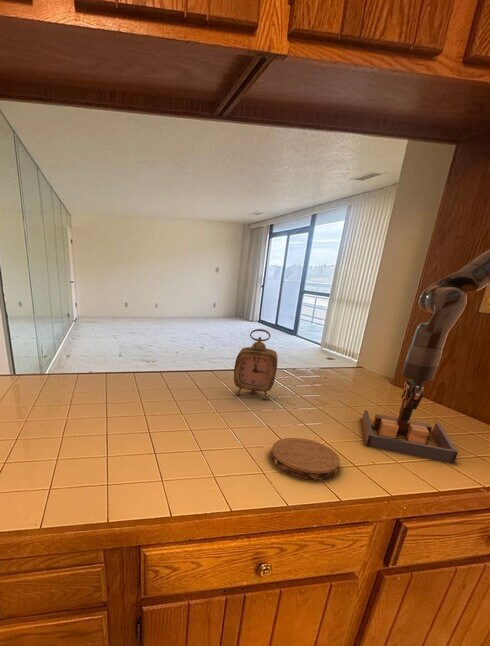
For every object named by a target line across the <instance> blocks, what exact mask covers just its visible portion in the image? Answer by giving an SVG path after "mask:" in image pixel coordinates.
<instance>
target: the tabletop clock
mask: <svg viewBox="0 0 490 646" xmlns="http://www.w3.org/2000/svg"><path fill="white" fill-rule="evenodd" d="M255 332H264V333H266V334H267V335H268V337H267V338H264V339H263V338H262V337H261V336H258V337H257V338H254V337H253V335H252V334H253V333H255ZM249 337H250V339H251V340H253V341H255V342H254V343H252V345H251V346H247V347H246V346H245V347H242V348H241V349H240V351H239V352H238V354H237V356H236V358H235V362H234V366H233V367H234V368H233V382H234V385H235V387H237V388H239V389H238V390H236V391H235V392H234V394H235V396H237V397H238V396H240V392H241V391H242V390H247V391H250V393H251V394H253V395H254V394H256V393H257V392H263V393H264V395H265V396H264V400H266V401H268V400H269V399H270V396H269V395H268V394H267V392H270V391H271V390H272V388H273V386H274V384H275V379H276V375H277V371H278V362H279V361H278V354H277V351H275V350H274V349H271V348H267V346H266V343H264V342H266V341H269V340H270V339H271V333H270V332H269V330H267V329H262V328H256V329H253V330H252V331H251V332H250V334H249Z"/></svg>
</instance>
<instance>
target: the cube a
mask: <svg viewBox="0 0 490 646" xmlns="http://www.w3.org/2000/svg"><path fill="white" fill-rule="evenodd" d="M398 428H399V426H398V423H397V421H392V420H386V419H381V423H380V426H379V429H378V428H377V430H378V436H382V437H388V438H393V439H396V438H397V434H398V432H397V431H398Z"/></svg>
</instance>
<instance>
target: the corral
mask: <svg viewBox="0 0 490 646" xmlns="http://www.w3.org/2000/svg"><path fill="white" fill-rule="evenodd" d="M361 421H362V428H363V435H364V441H365V446H366V447H369V448H374V449H375V448H376V449H379V450H385V451H390V452H394V453H399V454H400V453H401V454H403V455H409V456H414V457H419V458H425V459H428V460H434V461H438V462H444V463H449V464H455V461H456V459H457V456H458V454H459V451H458V450H457V449H456V446H455V445H454V444H453V442H452V440H451V439H450V437H449V435H448V434H447V432H446V431H445V429H444V428H443V425H442V424H441V423H440V422H437V421H435V423H434V425H433V429H432V430H431V431H432V432H431V433H432V434H433V437H434V438H435V440H436V441H437V443H438V445H439V446H434V445H428V444H421V443H416V442H411V441H408V440H402V439H397V438H390V437H385V436H380V435H377V434H373V430H372V424H371V418H370V414H369V410H364V411H363V415H362V418H361Z"/></svg>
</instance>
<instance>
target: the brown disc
mask: <svg viewBox="0 0 490 646" xmlns="http://www.w3.org/2000/svg"><path fill="white" fill-rule="evenodd" d="M270 460H271V463H272V465H273V466H274V467H275V468H276V469H277V470H279V471H280V472H282V473H283V474H285V475H287V476H290V477H292V478H294V479H298V480H301V481H305V482H316V483H317V482H327V481H328V480H331V479H334V478H335V476H336V475H338V472H339V467H340V457H339V455H338V453H336V452H335V451H334V450H333V449H332V448H331V447H329V446H327V445H325V444H323V443H321V442H318V441H315V440H312V439H307V438H302V437H285V438H282V439H278V440H277V441H276V442H273V445H272V448H271V453H270Z"/></svg>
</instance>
